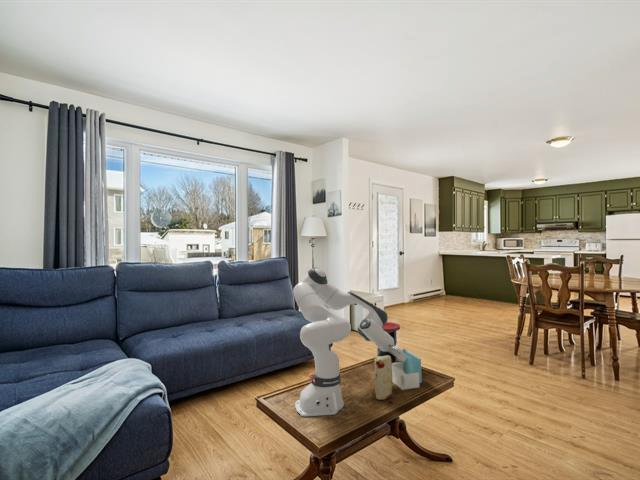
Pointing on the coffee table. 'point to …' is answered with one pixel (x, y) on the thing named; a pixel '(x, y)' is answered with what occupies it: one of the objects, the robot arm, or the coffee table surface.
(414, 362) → the box lid
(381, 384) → the food model
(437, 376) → the coffee table surface
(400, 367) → the white open box
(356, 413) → the coffee table surface
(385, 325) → the hourglass
